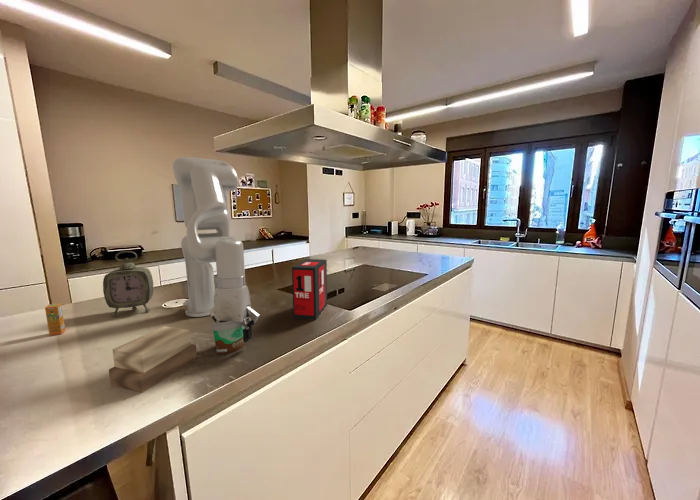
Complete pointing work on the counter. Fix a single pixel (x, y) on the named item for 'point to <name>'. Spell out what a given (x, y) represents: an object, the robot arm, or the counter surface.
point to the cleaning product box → (309, 288)
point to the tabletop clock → (128, 286)
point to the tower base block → (151, 372)
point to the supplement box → (55, 319)
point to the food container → (228, 336)
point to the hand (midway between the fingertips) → (235, 338)
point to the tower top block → (151, 349)
